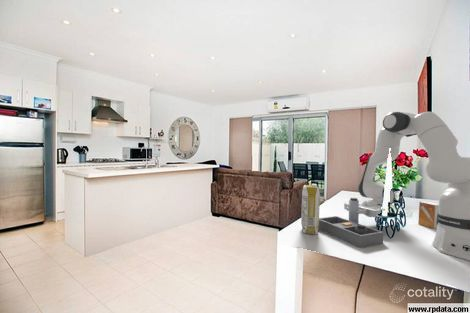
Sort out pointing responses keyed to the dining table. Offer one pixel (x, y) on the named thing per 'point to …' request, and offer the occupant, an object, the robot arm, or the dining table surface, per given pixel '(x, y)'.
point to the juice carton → (310, 209)
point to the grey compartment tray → (350, 231)
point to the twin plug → (360, 230)
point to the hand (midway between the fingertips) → (352, 210)
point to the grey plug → (353, 210)
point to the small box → (428, 214)
